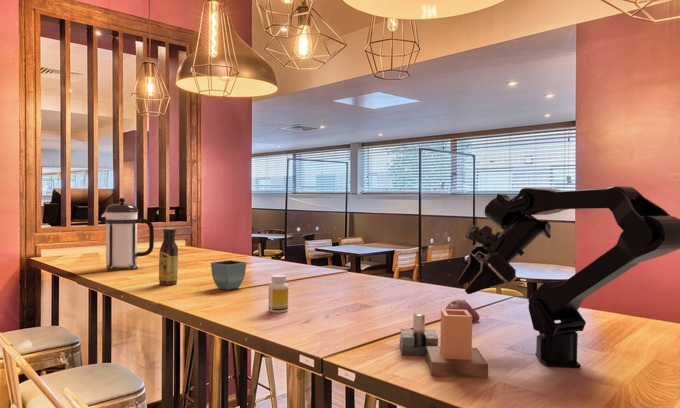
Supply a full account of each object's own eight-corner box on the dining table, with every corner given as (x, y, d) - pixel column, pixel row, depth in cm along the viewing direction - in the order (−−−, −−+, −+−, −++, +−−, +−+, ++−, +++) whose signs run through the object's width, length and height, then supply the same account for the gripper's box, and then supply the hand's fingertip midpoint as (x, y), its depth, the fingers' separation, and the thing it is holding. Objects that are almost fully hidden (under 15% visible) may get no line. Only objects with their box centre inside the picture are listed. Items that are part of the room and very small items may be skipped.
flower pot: (229, 284, 166) (230, 259, 166) (247, 288, 161) (247, 262, 160) (209, 288, 159) (210, 262, 158) (227, 292, 154) (227, 265, 153)
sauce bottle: (156, 283, 166) (156, 228, 165) (173, 281, 170) (173, 227, 169) (163, 286, 161) (163, 229, 160) (180, 284, 165) (181, 228, 165)
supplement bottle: (292, 310, 130) (292, 275, 130) (276, 314, 126) (277, 278, 126) (279, 307, 134) (280, 273, 134) (264, 310, 130) (264, 275, 130)
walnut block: (476, 360, 93) (477, 347, 93) (487, 377, 84) (488, 364, 84) (426, 358, 94) (426, 346, 94) (431, 375, 85) (431, 362, 85)
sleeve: (466, 350, 91) (466, 309, 91) (471, 359, 86) (472, 316, 86) (440, 349, 91) (440, 309, 91) (444, 358, 86) (444, 315, 86)
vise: (434, 345, 102) (435, 311, 102) (439, 356, 95) (439, 319, 95) (399, 343, 102) (400, 310, 102) (401, 354, 95) (402, 318, 95)
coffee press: (123, 272, 188) (123, 198, 187) (93, 269, 193) (93, 197, 193) (154, 266, 204) (155, 198, 203) (126, 264, 209) (126, 197, 209)
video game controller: (467, 324, 125) (456, 299, 126) (482, 319, 122) (470, 294, 124) (450, 332, 117) (439, 305, 119) (466, 327, 114) (454, 300, 116)
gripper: (478, 210, 110) (430, 256, 111) (500, 213, 92) (442, 268, 93) (512, 244, 110) (463, 289, 111) (540, 254, 91) (482, 308, 92)
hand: (462, 288), depth 102 cm, fingers open, 9 cm apart
